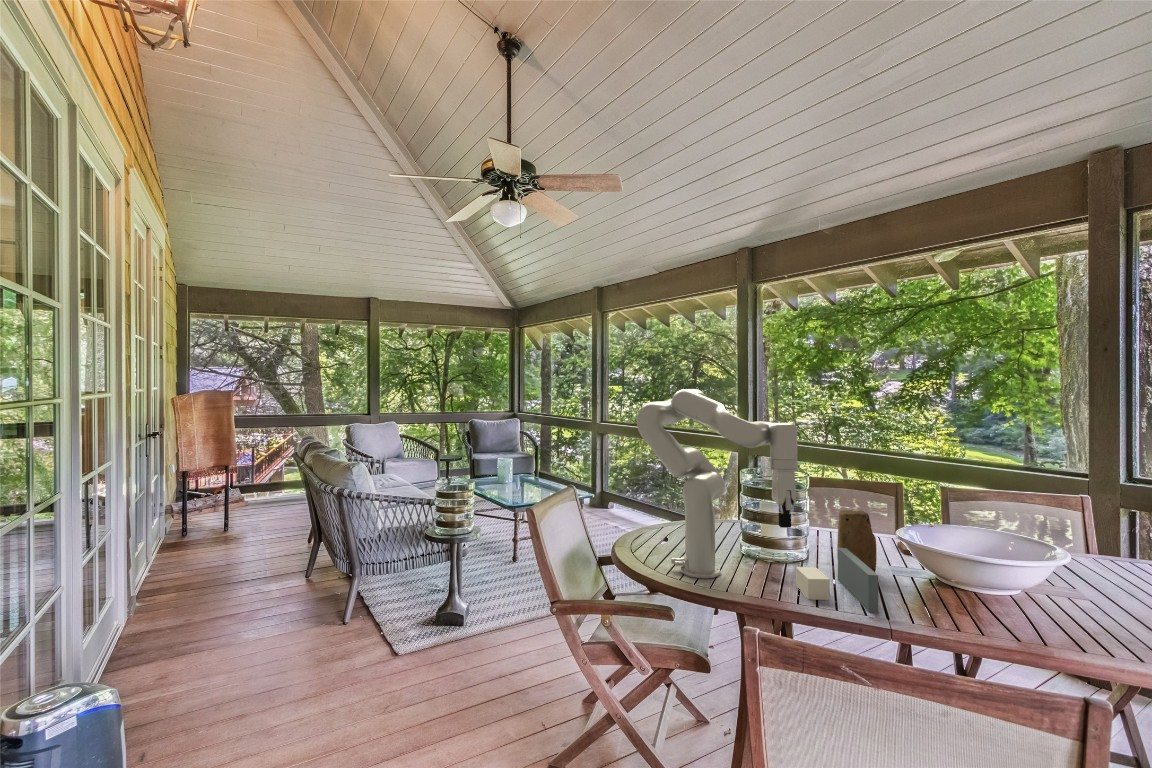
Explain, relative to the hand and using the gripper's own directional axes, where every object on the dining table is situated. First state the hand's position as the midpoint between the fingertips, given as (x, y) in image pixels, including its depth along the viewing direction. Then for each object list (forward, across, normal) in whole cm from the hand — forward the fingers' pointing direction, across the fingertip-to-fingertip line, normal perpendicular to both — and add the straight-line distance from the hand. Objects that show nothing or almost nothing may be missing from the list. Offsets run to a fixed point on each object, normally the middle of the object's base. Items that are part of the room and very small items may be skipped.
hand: (784, 526), depth 158 cm
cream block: (+19, 0, +7) cm, 21 cm away
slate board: (+19, 0, +20) cm, 28 cm away
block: (+20, -19, +26) cm, 38 cm away
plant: (+20, -46, +60) cm, 78 cm away
